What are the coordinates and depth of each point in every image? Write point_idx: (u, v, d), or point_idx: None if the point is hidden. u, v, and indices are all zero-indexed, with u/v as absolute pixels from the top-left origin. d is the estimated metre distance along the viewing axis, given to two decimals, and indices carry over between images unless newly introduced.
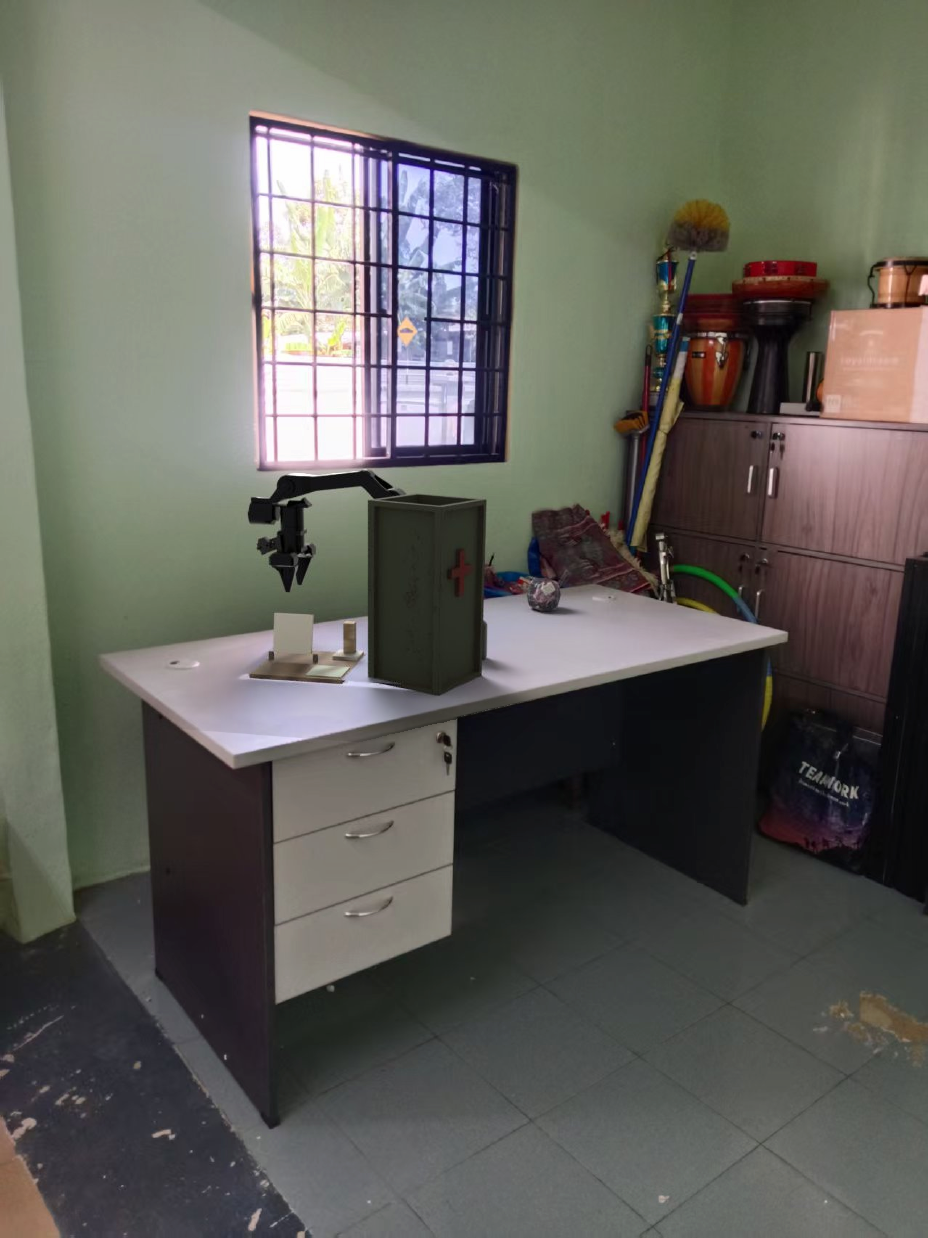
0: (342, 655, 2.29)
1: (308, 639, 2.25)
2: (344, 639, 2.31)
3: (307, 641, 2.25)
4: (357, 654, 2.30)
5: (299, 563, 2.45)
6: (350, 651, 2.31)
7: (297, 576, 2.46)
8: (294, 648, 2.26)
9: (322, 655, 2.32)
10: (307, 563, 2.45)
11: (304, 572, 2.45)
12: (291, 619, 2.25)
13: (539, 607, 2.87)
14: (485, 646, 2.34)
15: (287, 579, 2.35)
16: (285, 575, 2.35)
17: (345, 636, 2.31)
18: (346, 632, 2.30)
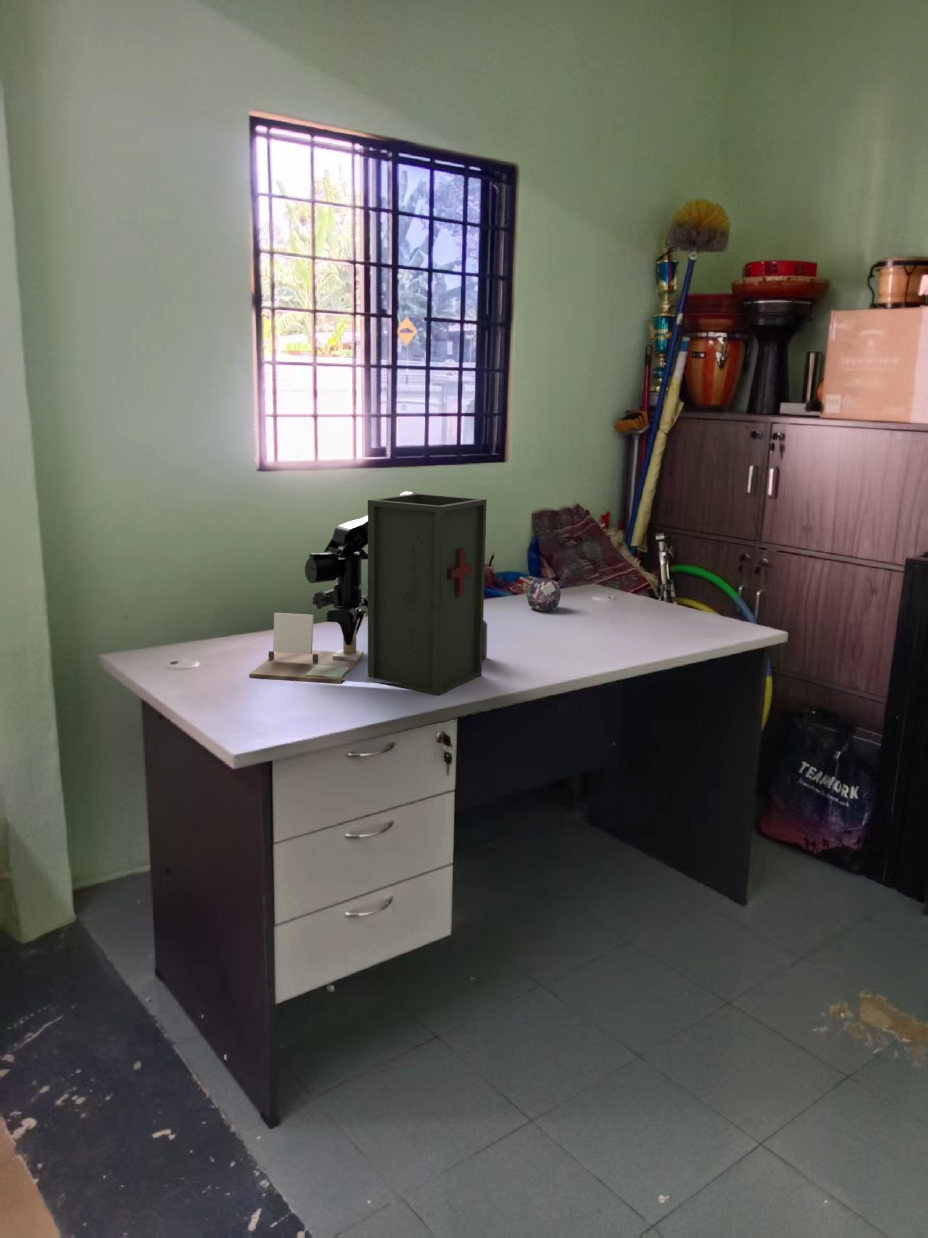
0: (342, 655, 2.29)
1: (308, 639, 2.25)
2: None
3: (307, 641, 2.25)
4: (357, 654, 2.30)
5: None
6: (350, 651, 2.31)
7: None
8: (294, 648, 2.26)
9: (322, 655, 2.32)
10: (360, 619, 2.32)
11: (356, 629, 2.33)
12: (291, 619, 2.25)
13: (539, 607, 2.87)
14: (485, 646, 2.34)
15: (348, 632, 2.29)
16: (346, 628, 2.29)
17: None
18: None
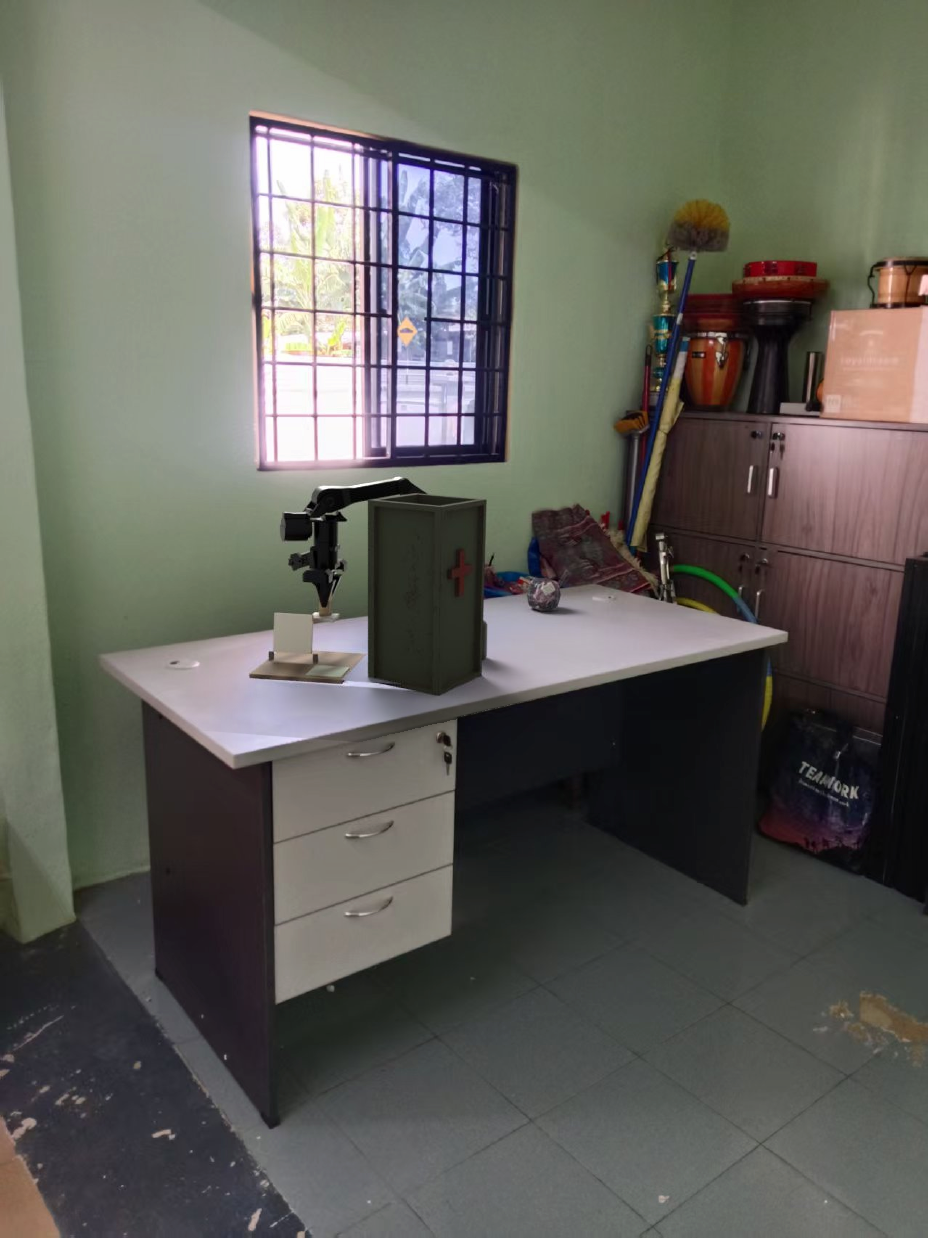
0: (318, 617, 2.29)
1: (308, 639, 2.25)
2: None
3: (307, 641, 2.25)
4: (333, 616, 2.30)
5: None
6: (326, 613, 2.31)
7: None
8: (294, 648, 2.26)
9: (322, 655, 2.32)
10: (335, 582, 2.32)
11: (332, 591, 2.32)
12: (291, 619, 2.25)
13: (539, 607, 2.87)
14: (485, 646, 2.34)
15: (324, 594, 2.29)
16: (322, 590, 2.28)
17: None
18: None
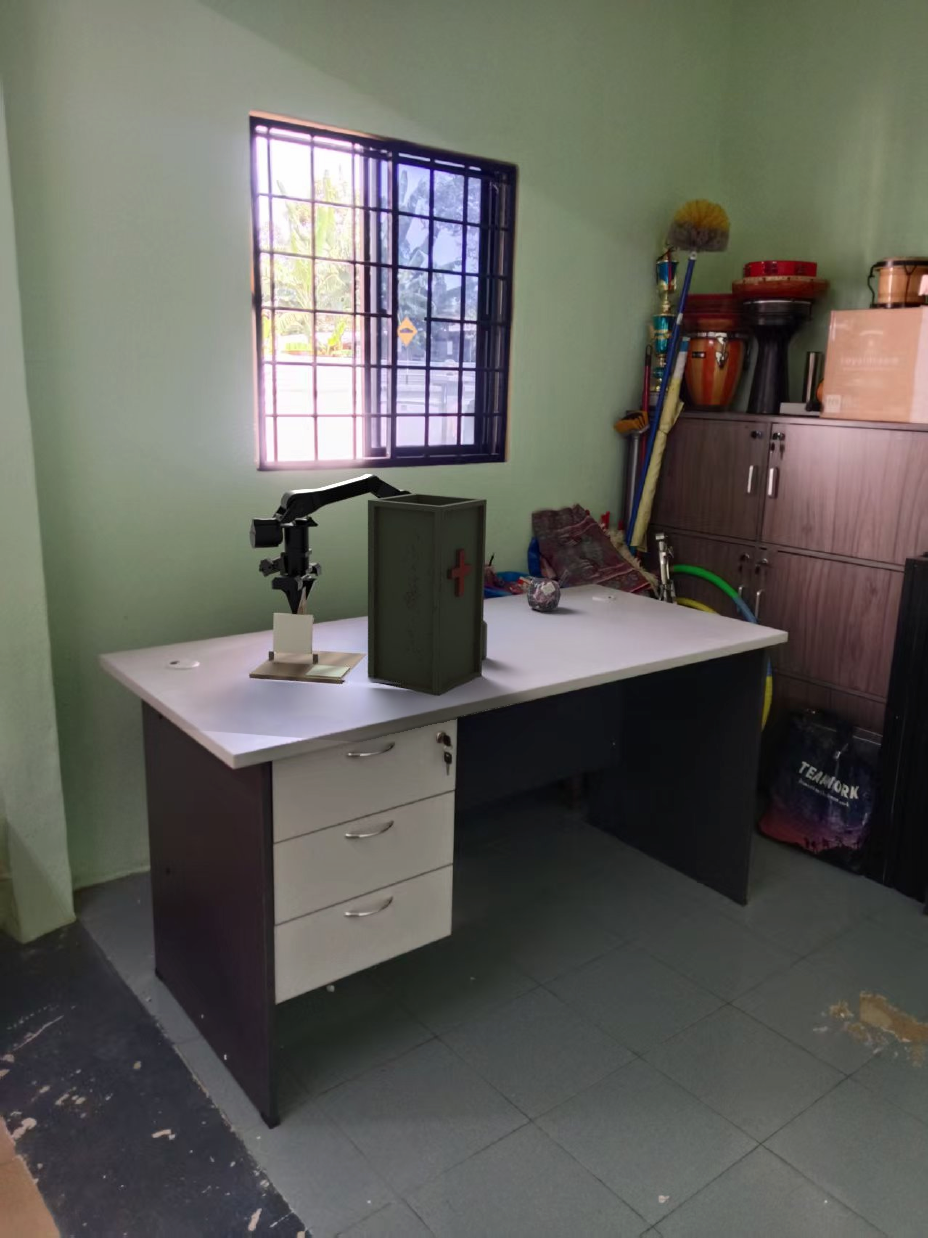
0: None
1: (308, 639, 2.25)
2: None
3: (307, 641, 2.25)
4: None
5: None
6: None
7: None
8: (293, 648, 2.25)
9: (322, 655, 2.32)
10: (309, 586, 2.30)
11: (306, 596, 2.30)
12: (290, 619, 2.25)
13: (539, 607, 2.87)
14: (485, 646, 2.34)
15: (294, 601, 2.25)
16: (292, 597, 2.25)
17: None
18: None
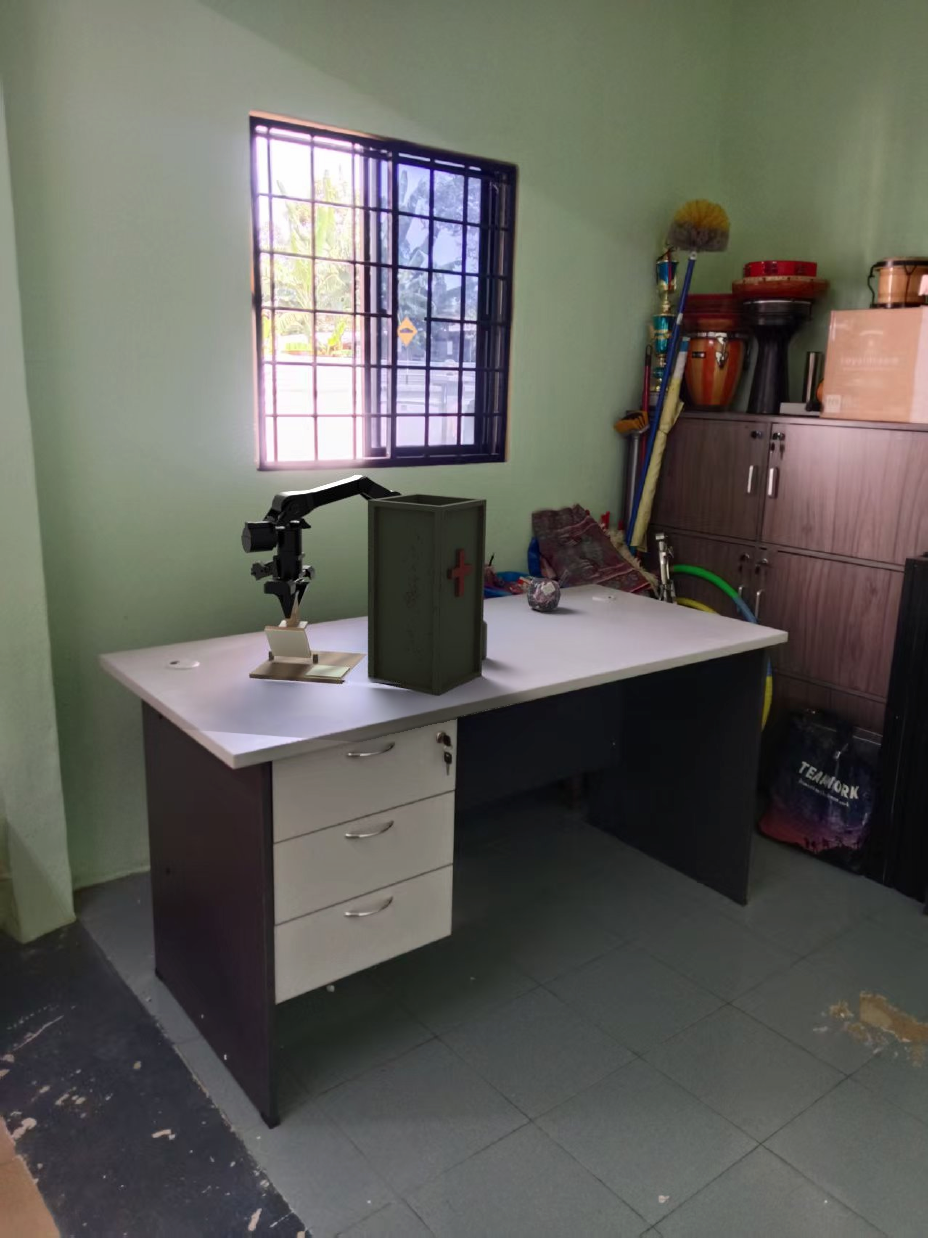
0: None
1: (305, 648, 2.23)
2: None
3: (304, 649, 2.23)
4: None
5: None
6: (293, 624, 2.24)
7: None
8: (292, 654, 2.25)
9: (322, 655, 2.32)
10: (302, 590, 2.25)
11: (299, 600, 2.25)
12: (283, 634, 2.20)
13: (539, 607, 2.87)
14: (485, 646, 2.34)
15: (287, 605, 2.20)
16: (285, 601, 2.20)
17: None
18: None
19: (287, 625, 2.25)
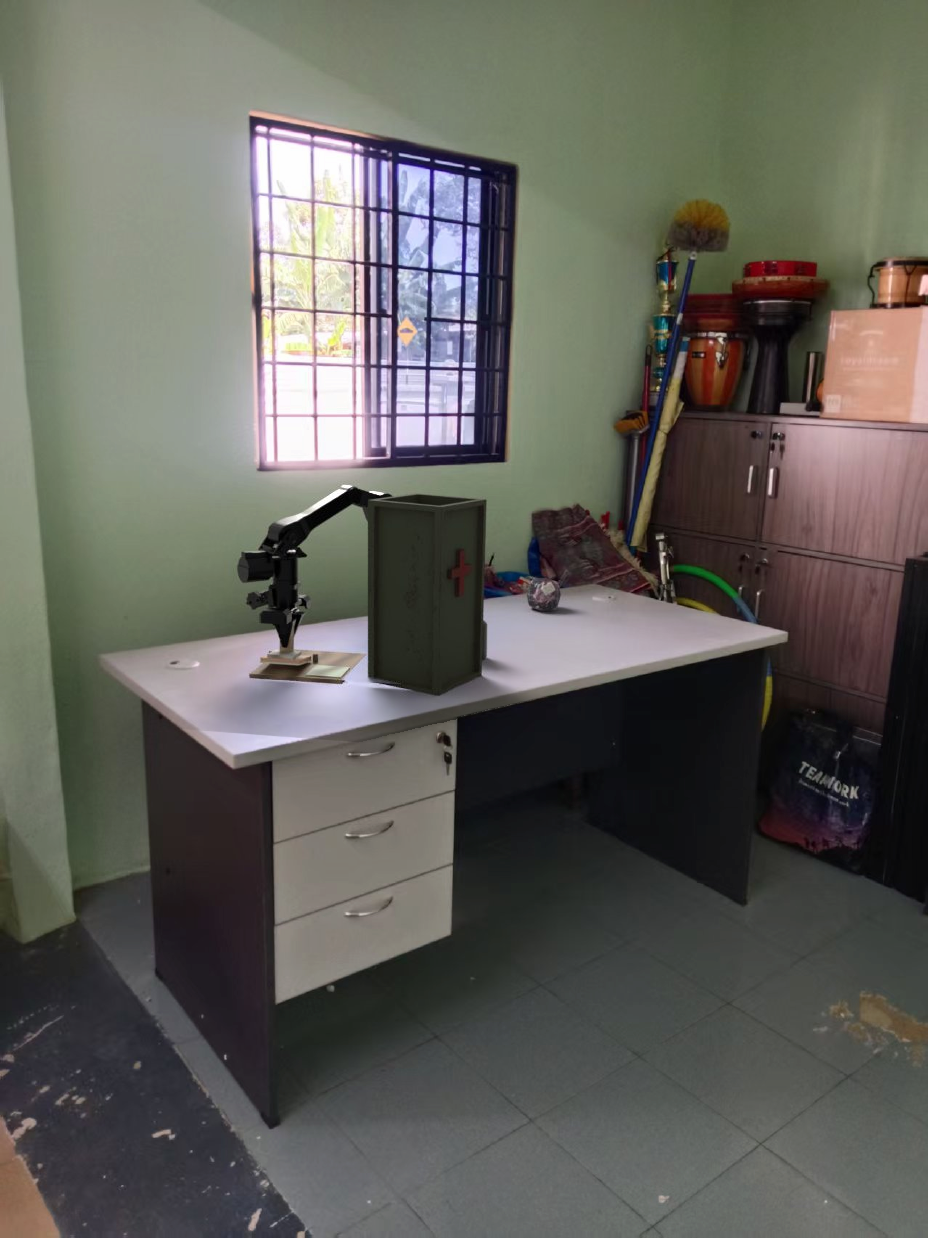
0: (277, 654, 2.19)
1: None
2: None
3: None
4: (294, 653, 2.20)
5: None
6: (286, 650, 2.21)
7: None
8: None
9: (322, 655, 2.32)
10: (297, 620, 2.22)
11: (294, 630, 2.23)
12: None
13: (539, 607, 2.87)
14: (485, 646, 2.34)
15: (284, 634, 2.19)
16: (282, 630, 2.18)
17: None
18: None
19: (280, 651, 2.21)
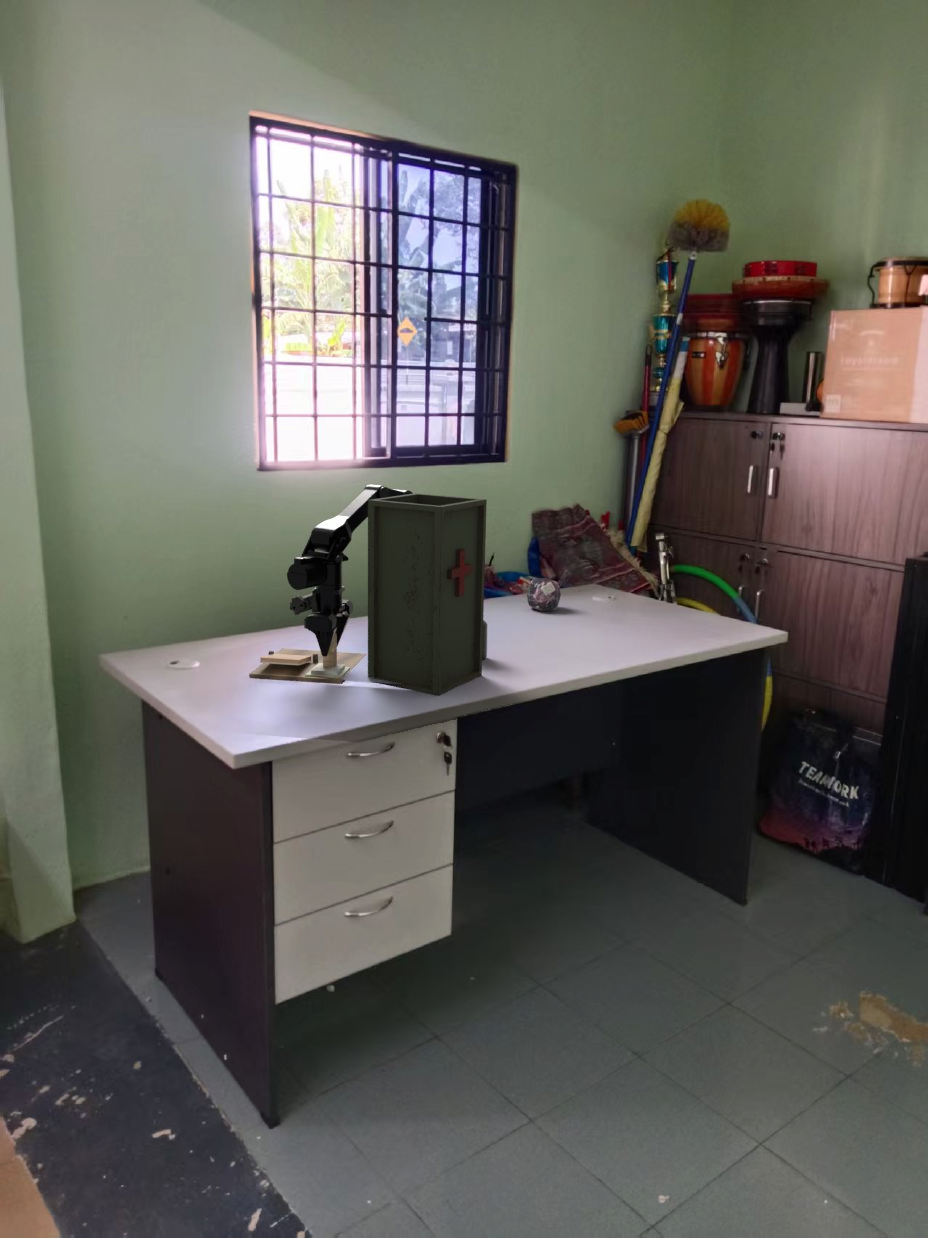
0: (321, 669, 2.16)
1: None
2: None
3: None
4: (337, 668, 2.18)
5: None
6: (330, 665, 2.18)
7: None
8: None
9: None
10: (343, 623, 2.22)
11: (340, 633, 2.22)
12: None
13: (539, 607, 2.87)
14: (485, 646, 2.34)
15: (324, 642, 2.13)
16: (322, 638, 2.13)
17: None
18: None
19: (324, 665, 2.19)
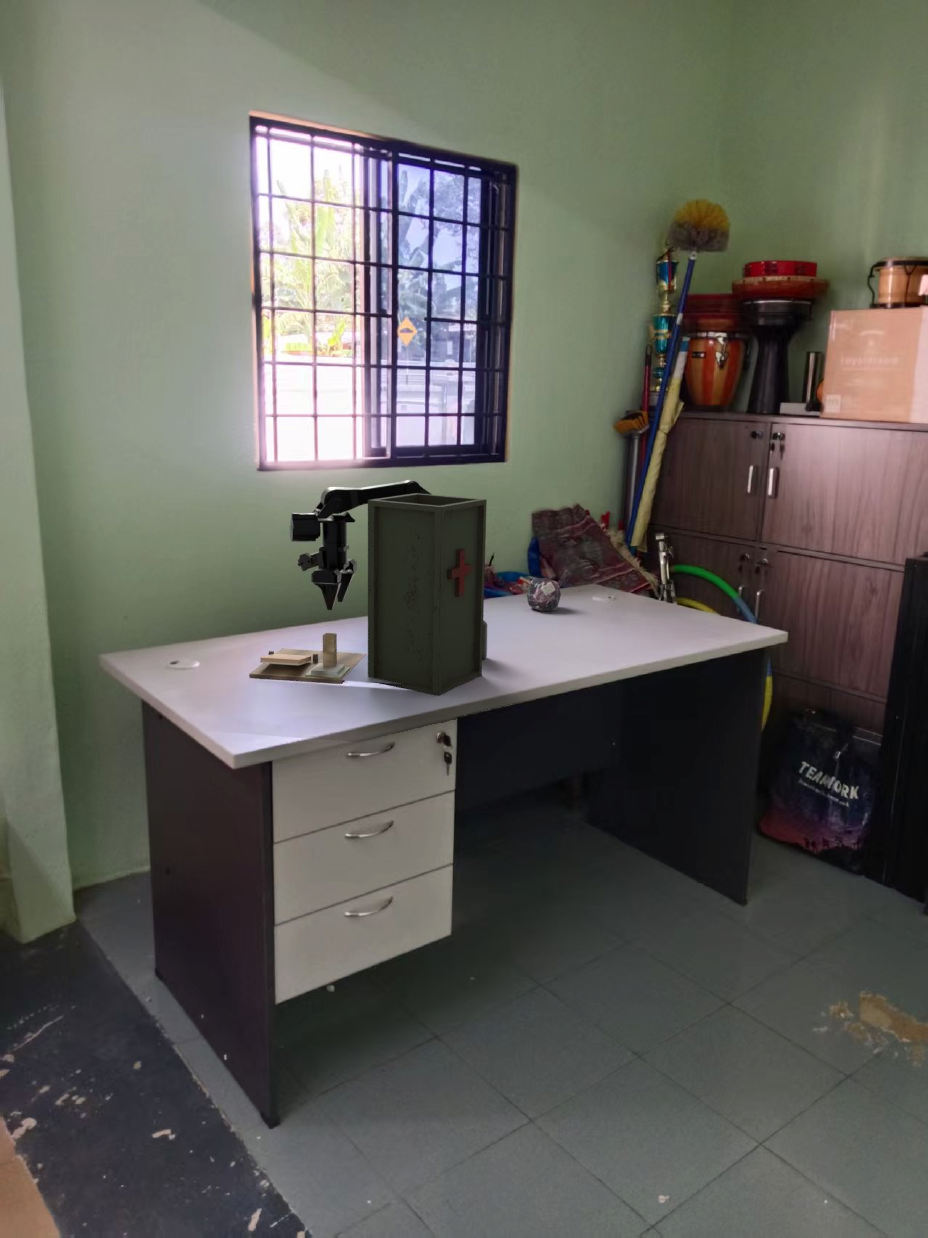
0: (321, 669, 2.16)
1: None
2: (324, 652, 2.18)
3: None
4: (337, 668, 2.18)
5: None
6: (330, 665, 2.18)
7: (337, 593, 2.38)
8: None
9: (322, 655, 2.32)
10: (348, 579, 2.38)
11: (345, 589, 2.38)
12: None
13: (539, 607, 2.87)
14: (485, 646, 2.34)
15: (329, 597, 2.28)
16: (327, 592, 2.28)
17: (325, 649, 2.18)
18: (325, 645, 2.17)
19: (324, 665, 2.19)
